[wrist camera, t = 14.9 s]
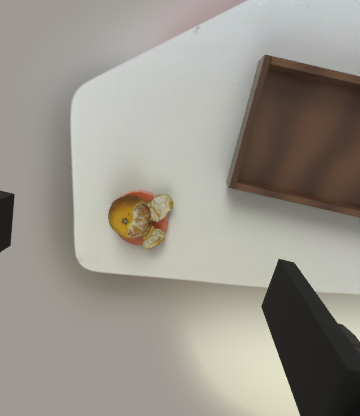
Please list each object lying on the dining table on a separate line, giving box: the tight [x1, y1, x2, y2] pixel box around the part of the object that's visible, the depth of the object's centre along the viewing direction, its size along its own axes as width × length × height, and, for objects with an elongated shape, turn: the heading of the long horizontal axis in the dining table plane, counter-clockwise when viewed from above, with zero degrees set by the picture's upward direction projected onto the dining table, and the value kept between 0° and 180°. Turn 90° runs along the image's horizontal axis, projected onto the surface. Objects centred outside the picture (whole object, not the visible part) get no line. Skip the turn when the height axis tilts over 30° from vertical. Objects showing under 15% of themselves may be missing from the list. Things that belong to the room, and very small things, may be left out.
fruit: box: [108, 195, 173, 249], centre depth 40 cm, size 8×8×4 cm
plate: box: [118, 191, 168, 245], centre depth 42 cm, size 8×8×1 cm
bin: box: [226, 55, 360, 217], centre depth 37 cm, size 25×16×3 cm, turn 78°
